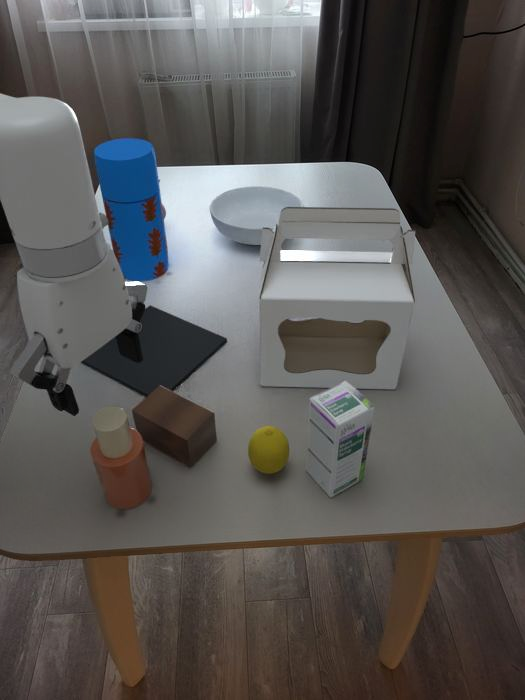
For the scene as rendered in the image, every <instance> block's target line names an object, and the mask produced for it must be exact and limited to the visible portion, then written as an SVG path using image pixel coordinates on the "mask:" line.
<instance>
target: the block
mask: <svg viewBox="0 0 525 700" xmlns="http://www.w3.org/2000/svg"><path fill="white" fill-rule="evenodd" d="M131 414H132V418H133V423H134V426H135V430H136V431H137V432H138V433H139V434H140V435H141V437H142V440H143V443H146V444H148V446H149V445H150V446H152V447H153V448H154V449H156V450H158V451H160V452H161V453H163V454H165V455H167V456H169V457H171V458H172V459H174V460H176V461H178V462H179V463H181V464H182V465H184V466H186V467H188V468H190V469H192V468H193V467H194V466H195V465H196V464H197V463H198V461H200V459H202V457H204V455H205V454H206V453H207V452H208V451H209V450H210V449H211V448H212V446H214V445H215V443H216V442H217V441H218V439H217V437H218V436H217V427H216V426H217V425H216V415H215V412H214V411H212V410H210V409H208V408H206V407H204V406H202V405H200V404H199V403H196V402H194V401H192V400H190V399H188V398H186V397H185V396H183V395H180V394H179V393H176V392H174V391H173V392H172V391H171V390H169V389H167V388H165V387H163V386H161V385H160V386H159V387H157V388H156V389H155V390H154V391H153V392H152V393H151V394H150V395H148V396H147V397H145V398H144V399H143V400H142V401H140V402H139V403H138V404H137V405H136V406H135V407H133V408H132V409H131Z"/></svg>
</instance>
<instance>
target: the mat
mask: <svg viewBox="0 0 525 700" xmlns="http://www.w3.org/2000/svg"><path fill="white" fill-rule="evenodd" d="M140 323H141V324H142V328H141V330H140V332H138V335H139V340H140V345H141V351H142V356H143V361H141V362H140V363H136V362H134V361H132V360H130V359H128V358H126V357H124V356H122V355H120V353H119V349H118V345H117V341H116V336H115V337H114V338H113V339H111V340H110V341H109V342H107V343H106V344H105V345H103V346H102V347H101V348H99V349H98V350H97V351H95V352H94V353H93V354H91V355H90V356H88V357H87V358H86V359H84V360H83V361H81V362H80V363H81V364H83V365H85V366H87V367H89V368H91V369H92V370H94V371H96V372H98V373H99V374H101V375H104V376H106V377H108V378H109V379H111V380H113V381H114V382H117V383H118V384H121V385H123V386H125V387H126V388H129V389H130V390H132V391H135V392H136V393H137V394H140V395H142V396H144V397H145V398H146V397H147V396H148V395H150V394H151V393H152V392H153V391H154V390H155V389H156V388H157V387H159V386H160V385H161V386H163V387H165V388H167V389H169V390H171V391H172V392H174V391H175V390H176V389H178V387H179V386H181V385H182V384H183V383H184V382H185V381H187V379H188V378H189V377H191V375H192V374H194V373H195V372H196V371H197V370H198V369H199V368H200V367H201V366H202V365H203V364H205V363H206V362H207V361H208V360H209V359H210V358H211V357H212V356H213V355H215V353H216V352H218V351H219V350H220V349H221V348H222V347H223V346H225V344H227V343H228V338H227V337H224V336H222V335H220V334H218V333H215V332H213V331H210V330H209V329H206V328H204V327H201V326H199V325H197V324H195V323H193V322H190V321H187V320H185V319H183V318H181V317H178V316H177V315H174V314H172V313H170V312H167V311H165V310H163V309H160V308H157V307H155V306H153V305H148V306H147V307H145V310H144V313H143V315H142V318H141V320H140Z"/></svg>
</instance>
